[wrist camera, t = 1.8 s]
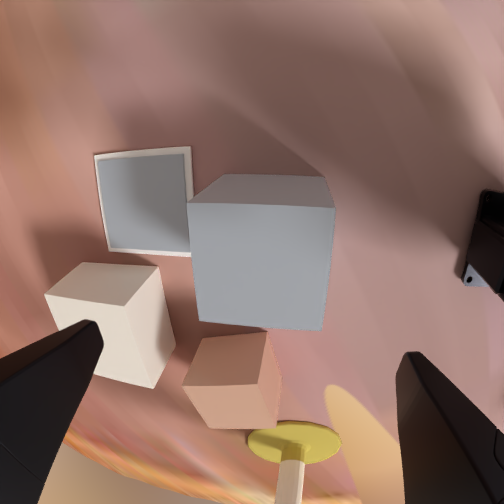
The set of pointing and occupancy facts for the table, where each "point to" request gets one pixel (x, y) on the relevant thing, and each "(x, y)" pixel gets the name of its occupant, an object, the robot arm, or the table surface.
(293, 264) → the grey block
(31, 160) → the table surface
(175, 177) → the tile
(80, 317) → the cream block
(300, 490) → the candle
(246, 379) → the terracotta block
